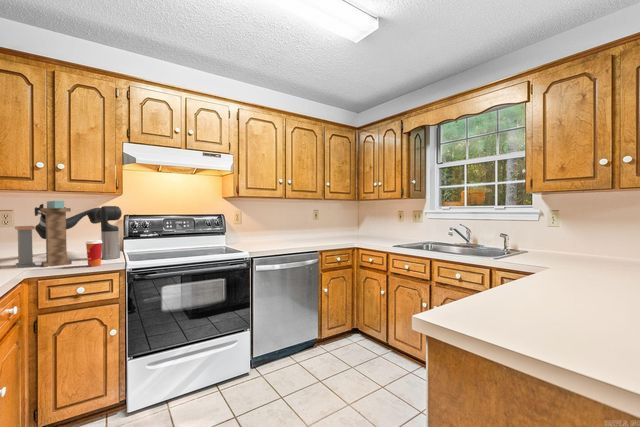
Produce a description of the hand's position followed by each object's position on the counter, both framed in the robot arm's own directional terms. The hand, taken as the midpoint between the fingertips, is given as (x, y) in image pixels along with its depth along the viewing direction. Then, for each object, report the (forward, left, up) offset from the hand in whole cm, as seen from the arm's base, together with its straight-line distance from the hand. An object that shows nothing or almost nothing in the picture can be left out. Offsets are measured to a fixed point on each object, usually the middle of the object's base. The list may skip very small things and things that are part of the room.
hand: (52, 205), depth 184 cm
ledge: (+12, 0, -34) cm, 36 cm away
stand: (0, +10, -34) cm, 35 cm away
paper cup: (-13, +31, -34) cm, 48 cm away
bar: (0, +9, -2) cm, 9 cm away
